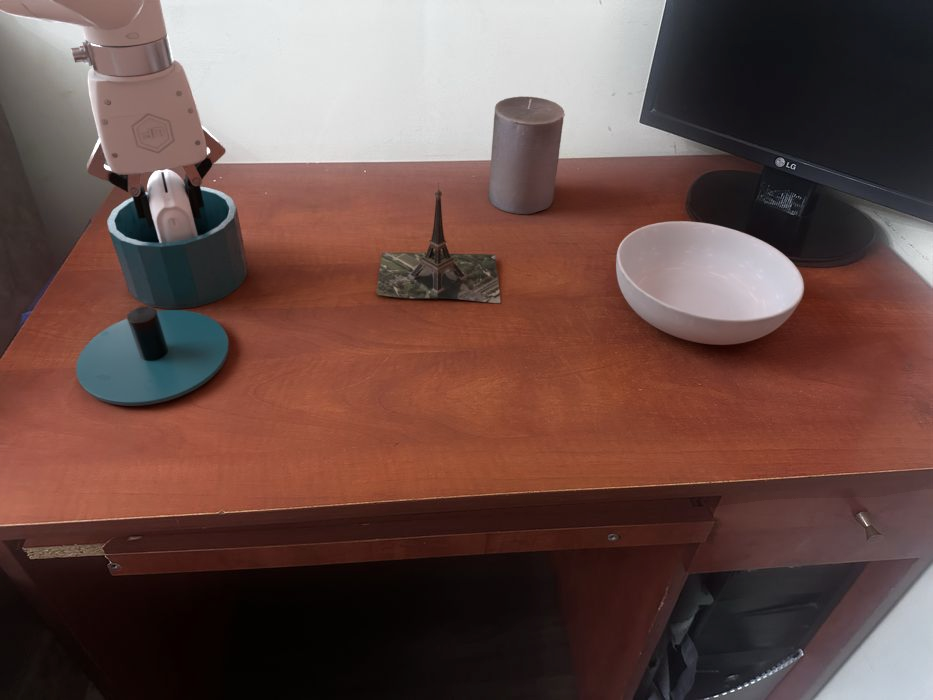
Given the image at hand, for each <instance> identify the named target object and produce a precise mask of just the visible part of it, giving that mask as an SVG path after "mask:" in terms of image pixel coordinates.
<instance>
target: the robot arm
mask: <svg viewBox="0 0 933 700" xmlns="http://www.w3.org/2000/svg"><path fill="white" fill-rule="evenodd" d="M0 12H3V13H5V14H7V15H10V16H14V17H18V18H23V19H24V18H25V19H28V20H35V21H36V20H37V21H42V22H49V23H57V24H64V25H65V24H66V25H70V26H77V27H80V28H81V29H82V34H83V37H84V41H82V45H78V47H77V46H76V47H71V48H70V50H71V53H72V57H73V61H74V63H77V64H78V63H83V64H88V66H89V67H91V68H90V69H89V70H88V72H87V86H88V87H87V88H88V94H89V100H90V105H91V110H92V114H93V118H94V123H95V127H96V131H97V135H98V139H97V141H96V143H95V146H94V147H93V150H92V152H91V155H90V157H89V158H88V161H87V163H86V170H87V173H88V175H90V176H93V177H95V178H98V179H100V180H103V181H106V182H109V183H110V184H112V185H113V186H115V187H117V188H119V189H121V190H123V191H125V192H126V193H128V195H129V196H130V197H131V198H132V197H133V200H134V203H135V207H136V210H137V214H138V217H139V219H142V218H146V221H147V224H148V228H151V227H153V226H155V225H154V221H153V219H152V214H151V210H150V206H149V203H148V199H147V195H146V192H147V191H146V190H145V187H144V185H142V183H141V174H145V173H152V172H155V171H158V170H160V171H163V170H166V169H168V170H171V169H176V168H183V170H184V172H185V174H184V178H183V182H184V185H185V187H186V190H187V194H188V198H189V202H190V206H191V210H192V213H193V215H194V218H197V219H199V218H201V214H200V210H199V208H202V207H204V202H203V197H202V193H201V188H200V187H201V185H202V183H203V179H204V178H205V177H206V175H207V174H208V173H209V171H210V170H211V168H212V167H213V165H214V164H215V163H217V162H218V161H220V159H221V158H222V157H223V156H224V155H225V154H226V152H227V151H226V148H225V146H224V145H223V143H222V142H221V141H219V140H218V139H217V138H216V137H215V135H213V134H212V133H211V132H210V131H209V130H207V128H205V127H204V126H203V125H202V121H201V118H200V117H201V116H200V114H199V109H198V106H197V103H196V99H195V95H194V93H193V89H192V87H191V84H190V81H189V78H188V76H187V73H186V71H185V69H184V67H183V65H182V64H181V63H180V62H179V61H177V60H175V59H174V57H173V53H172V48H171V44H170V39H169V35H168V31H167V26H166V21H165V17H164V13H163V12H164V11H163V9H162V4H161V0H0ZM105 163H106V164H107V165H106V164H105Z"/></svg>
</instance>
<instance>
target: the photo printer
mask: <svg viewBox="0 0 933 700" xmlns="http://www.w3.org/2000/svg"><path fill="white" fill-rule="evenodd" d="M146 185H147V186H146V192H147V194H148V201H149V206H150V210H151V214H152V219H153V221H154V225H155V228H156V232H157V235H158V239H159V242H160V243H166V242H175V241H183V240H186V239H189V238H193V237H196V236H198V235H197V230H196V226H195V222H194V218H193V214H192V210H191V206H190V202H189V198H188V194H187V190H186V187H185V183H184V179H182V177H181V176H180V175H179V174H178V173H176V172H175V171H173V170H171V169H164V170H158V171H153V173H151V175H150V177H149V178H148V181H147V184H146Z"/></svg>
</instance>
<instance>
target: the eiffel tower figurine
mask: <svg viewBox="0 0 933 700" xmlns="http://www.w3.org/2000/svg"><path fill="white" fill-rule="evenodd" d="M437 183H438V184H437V190H436V191H435V193H434V196H435V207H434V216H433V217H434V218H433V226H432V227H433V228H432V235H431V239H430V240H429V245H428V247H427V250H426V252H381V258H380V265H379V271H378V279H377V287H376V288H377V289H376V293H375V295H376V296H382V297H383V296H384V297H392V298H401V299H402V298H403V299H435V300H439V299H446V300H448V299H450V300H462V301H463V300H464V301H472V302H482V303H489V304H491V303H492V304H502V301H501V292H500V291H501V290H500V282H499V275H498V268H497V258H496V254H491V253H490V254H489V253H488V254H487V253H452V252H451V253H450V252H449V248H448V246H447V240H446V239H445V234H444V233H445V232H444V225H443V212H442V210H443V209H442V196H443V194H442V191H441V190H440V182H437Z"/></svg>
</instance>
